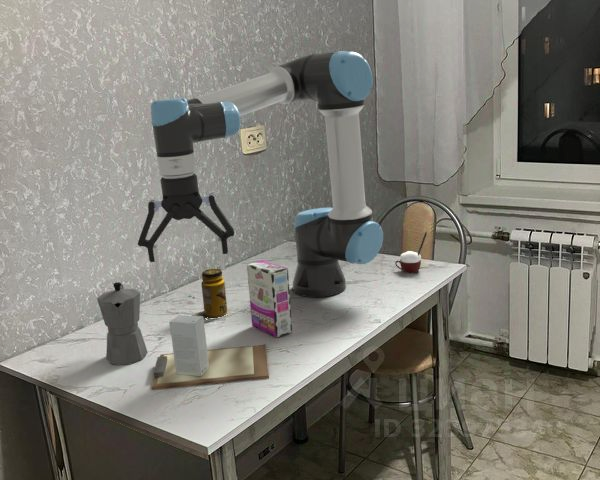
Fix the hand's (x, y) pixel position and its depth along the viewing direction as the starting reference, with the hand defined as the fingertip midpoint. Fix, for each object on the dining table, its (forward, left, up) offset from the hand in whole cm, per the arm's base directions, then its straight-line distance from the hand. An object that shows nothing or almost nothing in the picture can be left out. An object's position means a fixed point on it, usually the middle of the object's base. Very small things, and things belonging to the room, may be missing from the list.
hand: (191, 272), depth 142 cm
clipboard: (-3, +4, -21) cm, 21 cm away
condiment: (-2, -28, -21) cm, 35 cm away
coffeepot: (+17, -7, -21) cm, 28 cm away
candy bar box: (-17, -14, -21) cm, 30 cm away
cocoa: (-61, -49, -21) cm, 81 cm away
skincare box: (+1, +7, -20) cm, 21 cm away
